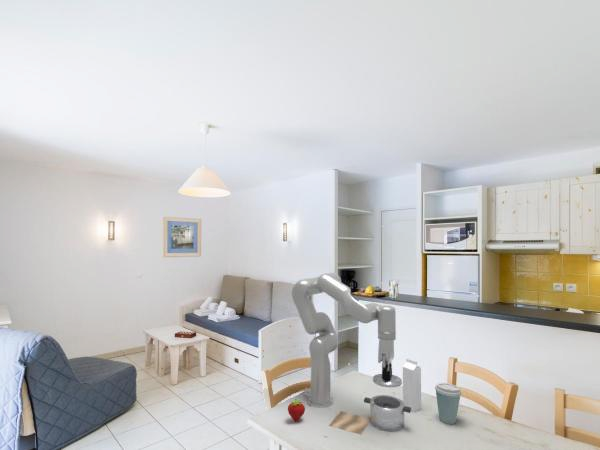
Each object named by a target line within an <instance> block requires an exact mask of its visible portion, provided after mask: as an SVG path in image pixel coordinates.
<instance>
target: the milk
mask: <svg viewBox="0 0 600 450" xmlns="http://www.w3.org/2000/svg"><path fill="white" fill-rule="evenodd" d="M402 402H403V403H404V406H406V407H411V413H415V412H418V411H419V410H421V409H422V368H421V366H419V365H418V361H415V360H413V359H409V358H406V360H405V363H404V364H403V366H402Z"/></svg>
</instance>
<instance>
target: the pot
mask: <svg viewBox="0 0 600 450" xmlns="http://www.w3.org/2000/svg"><path fill="white" fill-rule="evenodd" d="M363 403H366V404H369V405H370V408H369V410H370V411H369V412H370V413H369V416H370V417H369V418H370V421H369V422H370V424H371V425H372V427H374V428H376V429H378V430H379V431H383V432H387V433H388V432H389V433H395V432H397V433H398V432H399V431H403V430H404V429H405V413H407V414H411V413H412V411H411V407H406V406H404V403H403V400H401V399H400V398H397V397H396V396H392V395H387V394H380V395H375V396H373V397H371V398H370V397H364V399H363Z"/></svg>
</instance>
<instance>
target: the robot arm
mask: <svg viewBox="0 0 600 450" xmlns="http://www.w3.org/2000/svg"><path fill="white" fill-rule="evenodd" d="M291 290H292V291H291V298H292V301H293V304H294V306H295V307H296V310H297V312H298V315H299V318H300V319H301V323H302V325H303V329H304V331H306V333H307V334H308V335H316V334H318V335H317V336H315V337H314V338H312V339H311V340H310V342H309V346H308V349H309V355H310V390H309V389H306V388H305V389H304V391H303V396H306V397H308V398H307V405H309V406H310V407H314V408H318V409H319V408H320V409H322V408H323V409H325V408H329V407H331V406H333V405H334V399H333V398H332V397H331V361H330V357H329V354H331V353H333V352H335V351H336V350H337V349H338V347H339V344H340V343H339V338H338V334H337V332H336V330H335V328H334V325H333V322H332V320H331V318H330V317H329V316H328V314H326V313H325V312H321V311H318V312H317V310H316V307H315V305H314V303H313V302H312V300H311V299H310V298H309V297H310V296H313V295H317V294H322V293H325V294H326V295H327V296H329V297H330V298H332V299H333V300H335V301H336V302H338V304H340V306H341V308H342V309H343V310H344V312H345V313H346V314H347V315H349V316H350V317H352V318H353V319H354V320H356V321H358V322H359V323H361V324H368V323H372V322H374V321H377V339H378V350H377V351H378V353H377V354H378V356H377V362H378V363H379V364H380V363H381V374H382V380H387V381H390V371H389V366H390V367H391V377H392V375H393V360H394V357H395V340H396V339H397V338H396V337H397V333H396V332H397V331H396V330H397V329H396V328H397V327H396V326H397V325H396V324H397V323H396V319H397V318H396V308H395V307H394V306H392V305H382V304H378V303H376V302H375V303H374V302H370V303H367V304H362V303H360V302H359V301H358V300H357V299H355V298H354V297H353V296H352V294H351V293H352V290H351V288H350V287H349V286H348V285H346V284H344V283H343V282H342V278H341V276H340V275H339V274H337V273H335V272H329V273H323V274H320V276H317V277H310V278H304V279H300V280H298V281H297V282H296V283H295V284H294V285H293V287H292V289H291Z"/></svg>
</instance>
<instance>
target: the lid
mask: <svg viewBox="0 0 600 450" xmlns="http://www.w3.org/2000/svg"><path fill="white" fill-rule="evenodd" d="M391 368H392V367H390V366H389V371H390V381H387V380H382V373H378V374H375V375H373V377H372V382H373V383H374V384H375V385H378V386H380V387H384V388H397V387H400V386H401V385H403V379H402V378H401V377H399V376H397V375H396V374H395V375H394V374H392V377H391Z"/></svg>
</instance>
